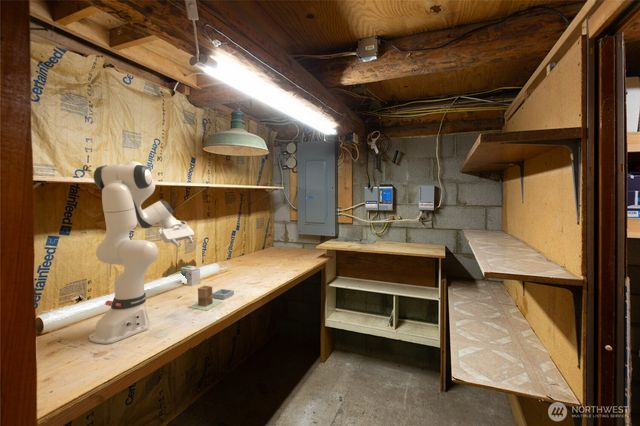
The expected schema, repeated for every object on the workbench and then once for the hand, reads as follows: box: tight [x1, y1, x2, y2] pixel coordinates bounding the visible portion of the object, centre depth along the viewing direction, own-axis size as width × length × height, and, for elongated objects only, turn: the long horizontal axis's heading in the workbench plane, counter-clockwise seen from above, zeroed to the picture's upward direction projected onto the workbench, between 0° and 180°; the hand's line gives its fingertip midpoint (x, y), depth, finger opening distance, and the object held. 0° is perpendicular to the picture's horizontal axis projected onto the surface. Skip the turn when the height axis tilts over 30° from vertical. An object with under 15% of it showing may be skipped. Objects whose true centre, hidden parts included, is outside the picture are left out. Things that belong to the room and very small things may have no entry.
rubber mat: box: [188, 299, 223, 312], centre depth 160 cm, size 12×12×1 cm
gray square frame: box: [212, 288, 235, 301], centre depth 173 cm, size 9×9×2 cm
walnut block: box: [197, 285, 214, 307], centre depth 159 cm, size 5×5×9 cm
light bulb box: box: [180, 265, 201, 287], centre depth 196 cm, size 11×7×11 cm, turn 62°
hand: (185, 244), depth 172 cm, fingers open, 8 cm apart
